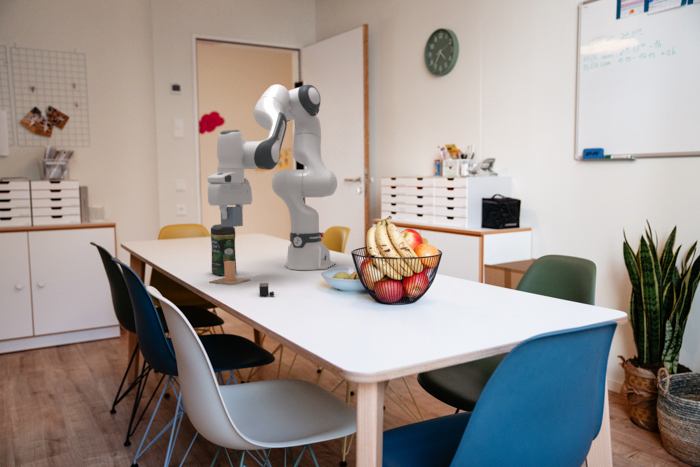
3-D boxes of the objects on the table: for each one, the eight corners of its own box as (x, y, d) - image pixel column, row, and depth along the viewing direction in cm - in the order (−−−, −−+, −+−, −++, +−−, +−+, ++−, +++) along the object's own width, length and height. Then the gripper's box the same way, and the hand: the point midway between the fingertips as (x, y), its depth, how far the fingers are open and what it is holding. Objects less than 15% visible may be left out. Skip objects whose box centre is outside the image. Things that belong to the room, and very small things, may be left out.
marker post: (227, 278, 204) (227, 258, 204) (250, 280, 200) (250, 260, 200) (209, 282, 195) (208, 262, 195) (233, 284, 191) (232, 264, 191)
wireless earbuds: (259, 297, 172) (259, 287, 172) (260, 293, 179) (259, 283, 178) (274, 296, 173) (274, 286, 172) (274, 292, 179) (274, 282, 179)
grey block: (230, 225, 199) (230, 206, 199) (242, 225, 197) (242, 206, 197) (221, 226, 195) (220, 207, 194) (233, 226, 192) (233, 207, 192)
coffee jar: (208, 273, 215) (207, 224, 213) (227, 271, 220) (226, 223, 218) (219, 276, 208) (218, 225, 206) (239, 274, 212) (238, 224, 211)
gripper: (241, 178, 205) (242, 217, 206) (204, 177, 187) (204, 219, 188) (256, 178, 203) (256, 217, 204) (219, 177, 184) (220, 220, 185)
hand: (231, 218), depth 196 cm, fingers closed on grey block, 5 cm apart
